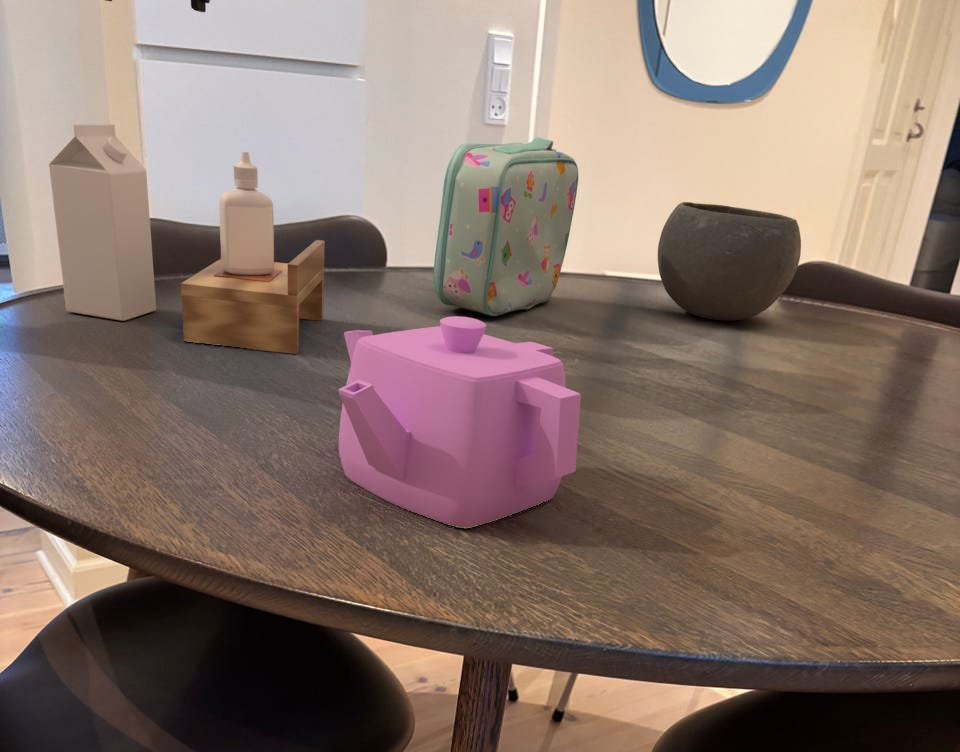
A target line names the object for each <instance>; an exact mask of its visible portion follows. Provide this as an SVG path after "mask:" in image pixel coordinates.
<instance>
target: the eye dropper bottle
mask: <svg viewBox="0 0 960 752" xmlns="http://www.w3.org/2000/svg"><path fill="white" fill-rule="evenodd" d="M258 185H259V182H258V167H257V166H255V165H254V164H253V163H252V162H251V156H250V153H249V151H241V154H240V161H239V162H238V163H236V164H234V165H233V186H234V187H235V188H234V189H231V190H229V191H225V192H224V193H222V194H221V195H220V197H219V201H218V202H219V203H218V204H219V206H218V208H219V209H218V211H219V240H220V242H219V243H220V259H221V267H222V269H223V270H224V271H226V272H227V273H230V274H235V275H268V274H272V273H273V272H274V262H275V227H274V226H275V225H274V223H275V221H274V220H275V218H274V216H275V215H274V203H273V201H272V199H271V198H270V196H268V195H266V194H265V193H263V192H261V191H259V190H257V189H258V187H259V186H258Z"/></svg>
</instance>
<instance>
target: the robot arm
mask: <svg viewBox="0 0 960 752" xmlns="http://www.w3.org/2000/svg"><path fill="white" fill-rule="evenodd" d="M105 1H106V2H112V1H113V0H105ZM210 3H211V0H190V7H191V9H192V10H193V11H196V12H200V13H206V9H207V5H206V4H210Z"/></svg>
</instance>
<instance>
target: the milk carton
mask: <svg viewBox="0 0 960 752" xmlns="http://www.w3.org/2000/svg"><path fill="white" fill-rule="evenodd" d="M73 135H74V136H73V138H72V139H70V141H69V142H68V143H67V144H66V145H65V146H64V148H62V150H61V151H60V152H59V153H58V154H57V155H55V157H54V158H53V159H52V160H51V161H50V162H49V164H48V168H49V169H48V170H49V178H50V184H51V186H50V187H51V194H52V201H53V211H54V219H55V229H56V235H57V244H58V253H59V261H60V267H61V269H60V270H61V277H62V286H63V294H64V304H65V310H66V312H69V313H74V314H81V315H85V316H86V315H87V316H91V317H97V318H104V319H110V320H117V321H121V322H123V321H127V320H131V319H133V318H137V317H140V316H143V315H146V314H148V313H149V314H150V313H152V312H155V311H157V300H156V286H155V274H154V273H155V272H154V261H153V260H154V257H153V244H152V230H151V218H150V217H151V216H150V204H149V203H150V202H149V190H148V189H149V188H148V177H147V168H145V167H144V166H143V165H142V163H141V162H140V161H139V160H138V159H137V157H135V156H134V155H133V153H132V152H131V151H130V150H129V149H128V148H127V146H125V144H124V143H123V142H122V141H121V140H120V139H119V138H118V136H116V125H115V124H73Z"/></svg>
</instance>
